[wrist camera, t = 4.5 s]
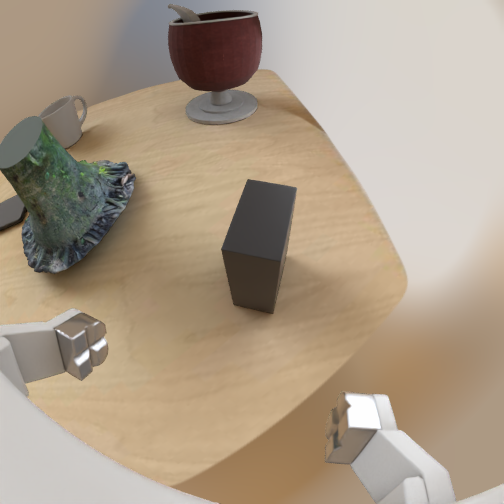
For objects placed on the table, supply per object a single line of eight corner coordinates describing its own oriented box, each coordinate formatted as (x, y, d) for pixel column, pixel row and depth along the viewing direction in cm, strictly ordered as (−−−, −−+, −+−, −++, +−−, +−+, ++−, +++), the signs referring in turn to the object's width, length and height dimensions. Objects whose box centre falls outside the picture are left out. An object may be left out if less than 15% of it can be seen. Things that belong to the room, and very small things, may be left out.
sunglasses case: (286, 255, 26) (297, 187, 18) (272, 313, 23) (281, 261, 15) (250, 247, 26) (247, 178, 19) (233, 304, 23) (220, 249, 16)
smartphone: (20, 218, 29) (-28, 240, 27) (23, 222, 30) (-25, 243, 28) (31, 187, 32) (-17, 211, 31) (34, 190, 33) (-14, 214, 31)
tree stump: (126, 146, 37) (101, 51, 21) (165, 255, 32) (127, 162, 16) (31, 193, 32) (-23, 122, 15) (47, 310, 27) (-49, 268, 10)
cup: (49, 150, 39) (32, 118, 32) (84, 121, 44) (71, 89, 37) (64, 156, 37) (45, 120, 30) (102, 123, 42) (89, 88, 35)
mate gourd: (276, 99, 43) (278, -4, 25) (233, 135, 36) (223, 1, 19) (206, 86, 47) (197, -2, 30) (158, 117, 41) (135, 14, 24)
